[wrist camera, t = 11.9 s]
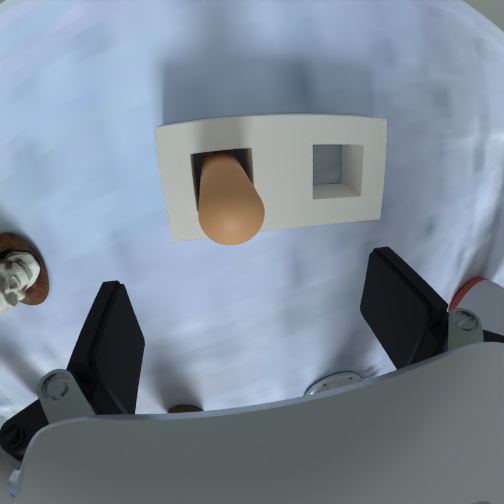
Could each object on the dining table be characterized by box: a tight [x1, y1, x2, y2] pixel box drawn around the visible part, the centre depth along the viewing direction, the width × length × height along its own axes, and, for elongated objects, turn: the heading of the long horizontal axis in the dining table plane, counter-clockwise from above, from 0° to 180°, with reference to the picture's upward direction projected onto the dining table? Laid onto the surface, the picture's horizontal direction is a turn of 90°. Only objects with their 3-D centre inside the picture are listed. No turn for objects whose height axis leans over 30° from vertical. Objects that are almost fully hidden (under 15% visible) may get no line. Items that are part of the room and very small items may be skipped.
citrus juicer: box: [448, 277, 504, 336], centre depth 40 cm, size 16×17×20 cm
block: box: [154, 113, 387, 242], centre depth 28 cm, size 22×11×5 cm, turn 93°
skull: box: [0, 233, 49, 312], centre depth 29 cm, size 12×10×10 cm
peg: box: [198, 150, 265, 245], centre depth 23 cm, size 4×4×14 cm
